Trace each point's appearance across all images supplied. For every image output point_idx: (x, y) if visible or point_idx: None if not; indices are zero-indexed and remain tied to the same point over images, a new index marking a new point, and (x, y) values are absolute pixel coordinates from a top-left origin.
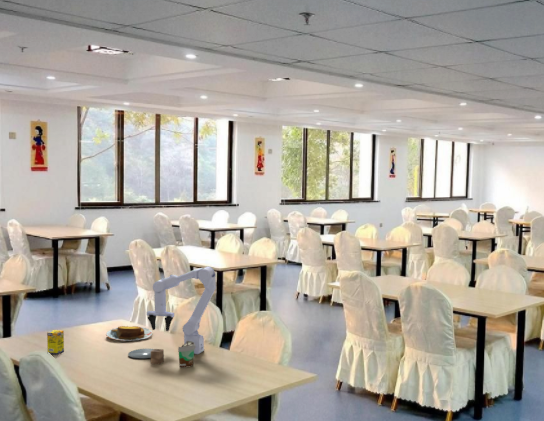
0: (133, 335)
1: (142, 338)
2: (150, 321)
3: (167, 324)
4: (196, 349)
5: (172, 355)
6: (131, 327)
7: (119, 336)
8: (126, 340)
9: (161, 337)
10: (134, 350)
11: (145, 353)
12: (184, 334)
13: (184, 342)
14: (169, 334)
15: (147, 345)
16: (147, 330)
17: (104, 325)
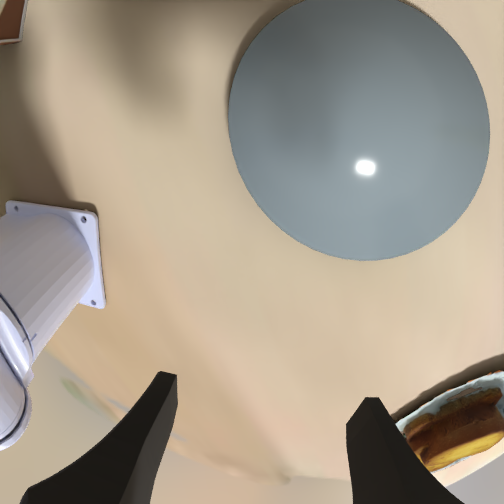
0: (451, 420)
1: (411, 417)
2: (432, 488)
3: (106, 440)
4: (3, 222)
5: (131, 140)
6: (460, 453)
7: (499, 397)
8: (477, 383)
9: (325, 446)
10: (464, 200)
11: (367, 108)
12: (2, 304)
13: (45, 265)
14: (298, 467)
15: (386, 353)
16: None
17: (486, 458)
